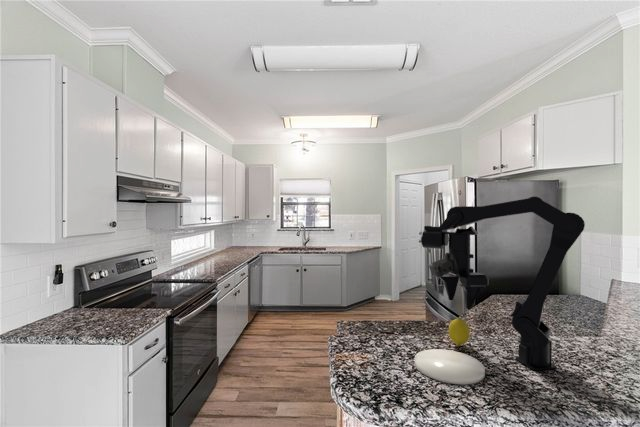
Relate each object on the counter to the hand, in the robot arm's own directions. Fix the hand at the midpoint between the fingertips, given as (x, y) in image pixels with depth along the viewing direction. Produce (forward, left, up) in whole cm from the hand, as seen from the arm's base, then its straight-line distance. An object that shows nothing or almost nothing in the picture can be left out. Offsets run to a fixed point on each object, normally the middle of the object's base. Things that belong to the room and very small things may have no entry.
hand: (459, 304), depth 94 cm
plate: (+10, +12, -12) cm, 20 cm away
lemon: (0, 0, -12) cm, 12 cm away
